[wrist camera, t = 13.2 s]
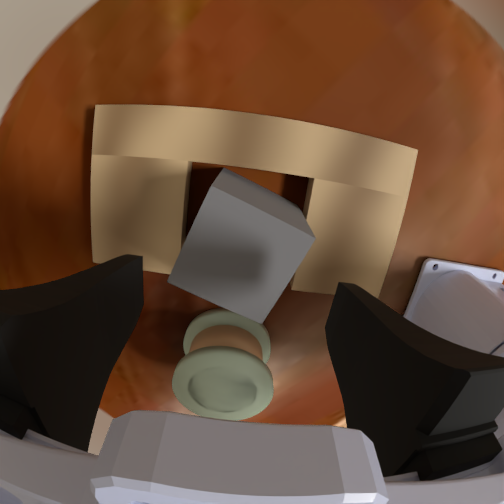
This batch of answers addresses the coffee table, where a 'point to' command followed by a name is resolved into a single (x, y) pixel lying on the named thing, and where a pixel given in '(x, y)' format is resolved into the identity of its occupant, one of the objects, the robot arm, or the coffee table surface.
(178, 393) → the bobbin
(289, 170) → the notched board
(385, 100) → the coffee table surface
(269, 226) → the block
